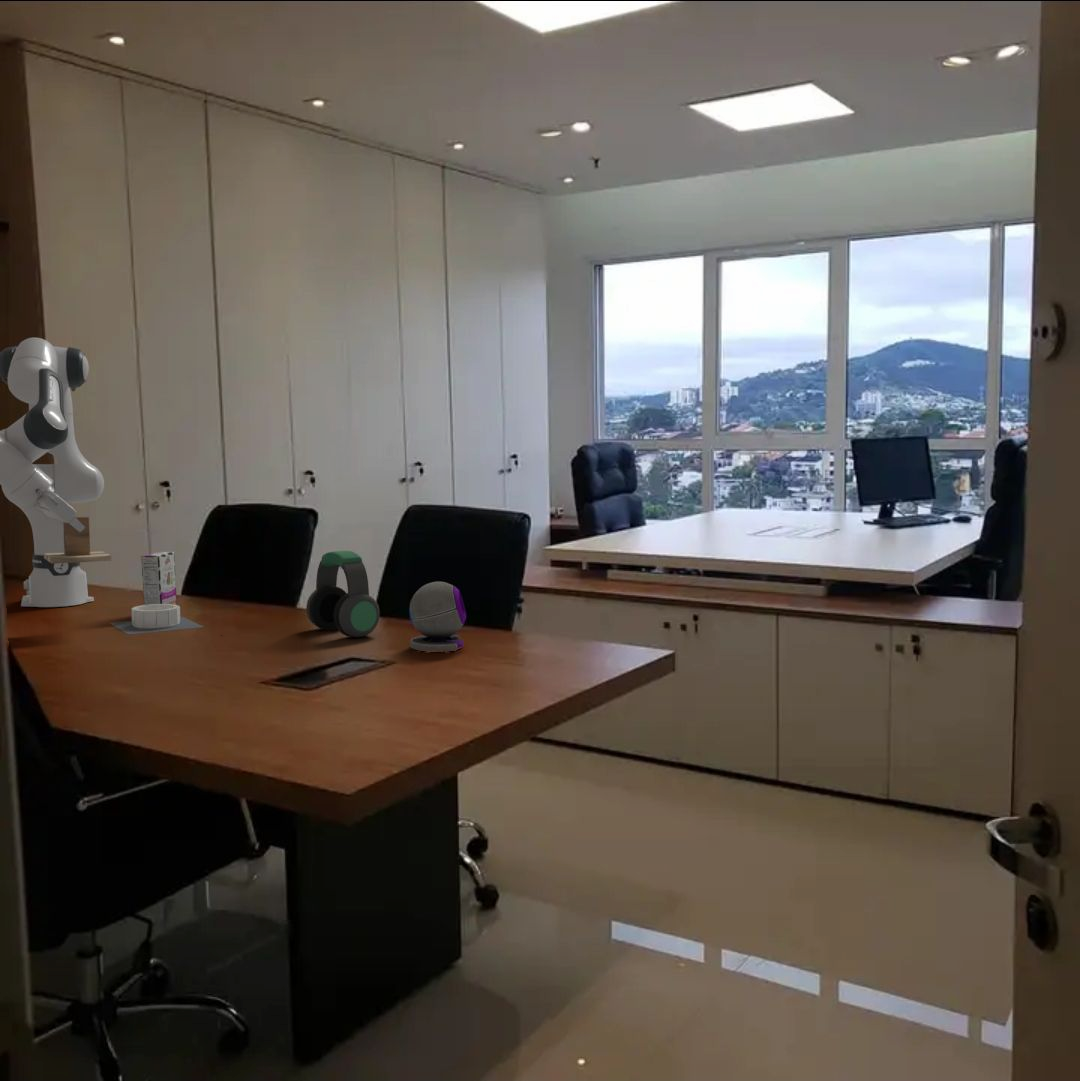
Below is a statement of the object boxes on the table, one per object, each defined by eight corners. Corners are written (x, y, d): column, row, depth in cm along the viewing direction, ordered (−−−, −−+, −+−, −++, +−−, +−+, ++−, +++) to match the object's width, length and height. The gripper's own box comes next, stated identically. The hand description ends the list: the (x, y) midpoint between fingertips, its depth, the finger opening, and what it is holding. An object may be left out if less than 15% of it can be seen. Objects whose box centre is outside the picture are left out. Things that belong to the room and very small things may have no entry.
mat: (109, 624, 268) (109, 623, 268) (181, 617, 278) (181, 616, 278) (128, 636, 253) (128, 634, 253) (204, 628, 263) (204, 626, 263)
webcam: (464, 653, 237) (464, 586, 235) (406, 652, 236) (406, 585, 235) (467, 641, 249) (467, 578, 248) (412, 641, 249) (412, 577, 248)
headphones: (303, 630, 262) (301, 549, 260) (341, 625, 269) (341, 546, 267) (343, 642, 248) (342, 556, 246) (383, 636, 255) (383, 553, 253)
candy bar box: (159, 613, 285) (157, 551, 284) (177, 612, 285) (175, 551, 284) (142, 618, 274) (140, 555, 273) (162, 618, 274) (159, 555, 273)
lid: (44, 558, 259) (42, 516, 258) (101, 555, 266) (99, 514, 265) (51, 563, 248) (50, 520, 247) (111, 560, 255) (109, 518, 254)
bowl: (127, 623, 267) (127, 606, 266) (172, 619, 273) (171, 602, 273) (139, 630, 258) (138, 612, 257) (185, 626, 264) (184, 608, 264)
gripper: (52, 481, 243) (98, 522, 249) (35, 477, 259) (79, 515, 266) (31, 501, 241) (79, 542, 247) (15, 496, 257) (60, 534, 264)
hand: (79, 528), depth 257 cm, fingers closed on lid, 5 cm apart
